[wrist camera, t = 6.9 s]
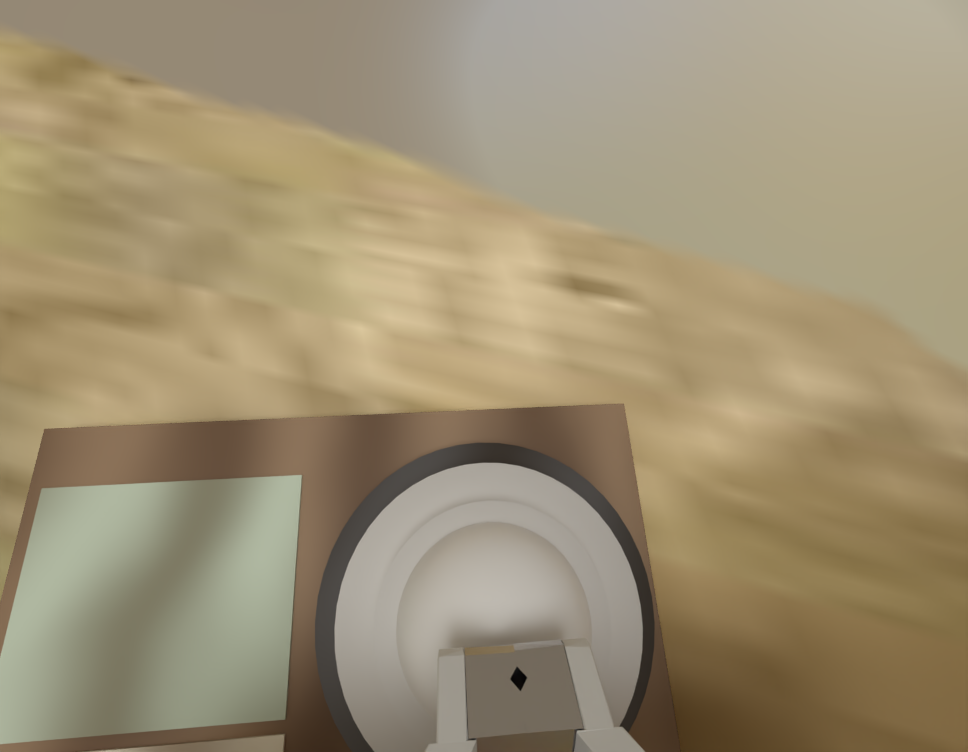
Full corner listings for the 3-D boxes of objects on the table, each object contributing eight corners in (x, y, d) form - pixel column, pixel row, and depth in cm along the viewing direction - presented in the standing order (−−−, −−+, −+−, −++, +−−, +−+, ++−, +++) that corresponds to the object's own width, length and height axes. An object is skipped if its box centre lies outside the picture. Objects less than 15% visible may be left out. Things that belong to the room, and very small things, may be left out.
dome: (604, 463, 17) (662, 430, 12) (648, 766, 14) (748, 882, 9) (350, 476, 16) (305, 447, 12) (340, 796, 14) (273, 939, 9)
